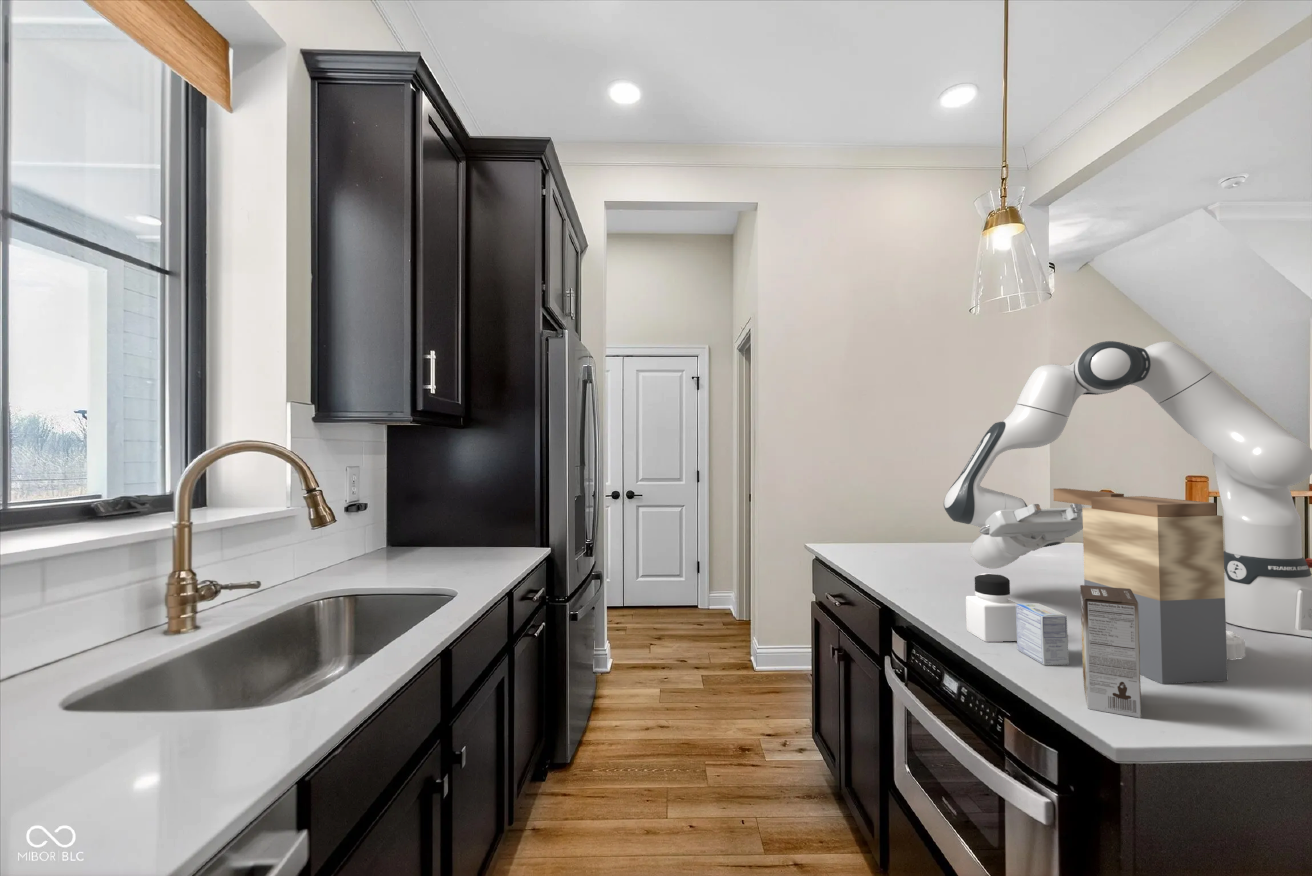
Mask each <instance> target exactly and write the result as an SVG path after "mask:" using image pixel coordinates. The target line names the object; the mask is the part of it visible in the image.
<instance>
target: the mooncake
mask: <svg viewBox="0 0 1312 876" xmlns="http://www.w3.org/2000/svg"><path fill="white" fill-rule="evenodd" d="M1226 647H1227V658H1228V659H1233V660H1232V661H1235V660H1237V659H1236V658H1242V659H1243V658H1245V657H1246V640H1245V638H1243V636H1239V634H1237V633H1234V631H1230V630H1227V629H1226ZM1228 659H1227V660H1228Z"/></svg>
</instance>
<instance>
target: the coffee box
mask: <svg viewBox="0 0 1312 876" xmlns="http://www.w3.org/2000/svg"><path fill="white" fill-rule="evenodd" d="M1079 589H1080V617H1081V618H1080V619H1081V620H1080V623H1081V648H1082V649H1081V653H1082V654H1081V655H1082V676H1083V677H1082V680H1083V681H1082V682H1083V689H1084V695H1085V702H1086V707H1087V709H1089V710H1093V711H1098V712H1104V713H1110V714H1116V715H1122V716H1126V717H1127V716H1128V717H1131V718H1132V717H1133V718H1138V719H1141V718H1142V700H1141V699H1142V698H1141V697H1142V692H1141V691H1142V690H1141V675H1140V646H1139V603H1138V602H1137V600H1136V598H1135V596H1134V594H1133V592H1132V590H1131V589H1126V588H1112V587H1101V586H1088V585H1084V584H1081V585H1080V588H1079Z"/></svg>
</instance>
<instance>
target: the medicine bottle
mask: <svg viewBox="0 0 1312 876" xmlns="http://www.w3.org/2000/svg"><path fill="white" fill-rule="evenodd" d="M1010 585H1011V582H1010V579H1009V578H1008V577H1006V576H1004V575H1002V574H998V573H980V574H977V575H975V576H974V595H967V596H965V615H966V617H965V619H966V621H965V622H966V631H967V632H968V633H970V634H971V633H972V635H973V636H975V637H977V638H978V639H980V640H981V641H983V642H985V643H1001V642H1003V641H1017V626H1016V604H1019V603H1017V602H1015V601H1013V600H1010V598H1011V586H1010Z"/></svg>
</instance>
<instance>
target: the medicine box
mask: <svg viewBox="0 0 1312 876" xmlns="http://www.w3.org/2000/svg"><path fill="white" fill-rule="evenodd" d="M1067 617H1068V616H1067V615H1066V614H1065V613H1062V612H1060V611H1058V610H1057V609H1053V608H1051V607H1049V606H1045V605H1043V604H1041V603H1038V602H1037V603H1036V602H1035V603H1034V602H1033V603H1031V602H1029V603H1026V602H1025V603H1018V604H1016V626H1017V642H1016V647H1017V650H1018V651H1019V652H1021V653H1022V654H1024V655H1026V656H1027V657H1030V658H1032V659H1033V660H1035V661H1036V662H1038V663H1040V664H1042V665H1043V666H1068V665H1070V661H1069V638H1068V636H1069V635H1068V619H1067Z"/></svg>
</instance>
